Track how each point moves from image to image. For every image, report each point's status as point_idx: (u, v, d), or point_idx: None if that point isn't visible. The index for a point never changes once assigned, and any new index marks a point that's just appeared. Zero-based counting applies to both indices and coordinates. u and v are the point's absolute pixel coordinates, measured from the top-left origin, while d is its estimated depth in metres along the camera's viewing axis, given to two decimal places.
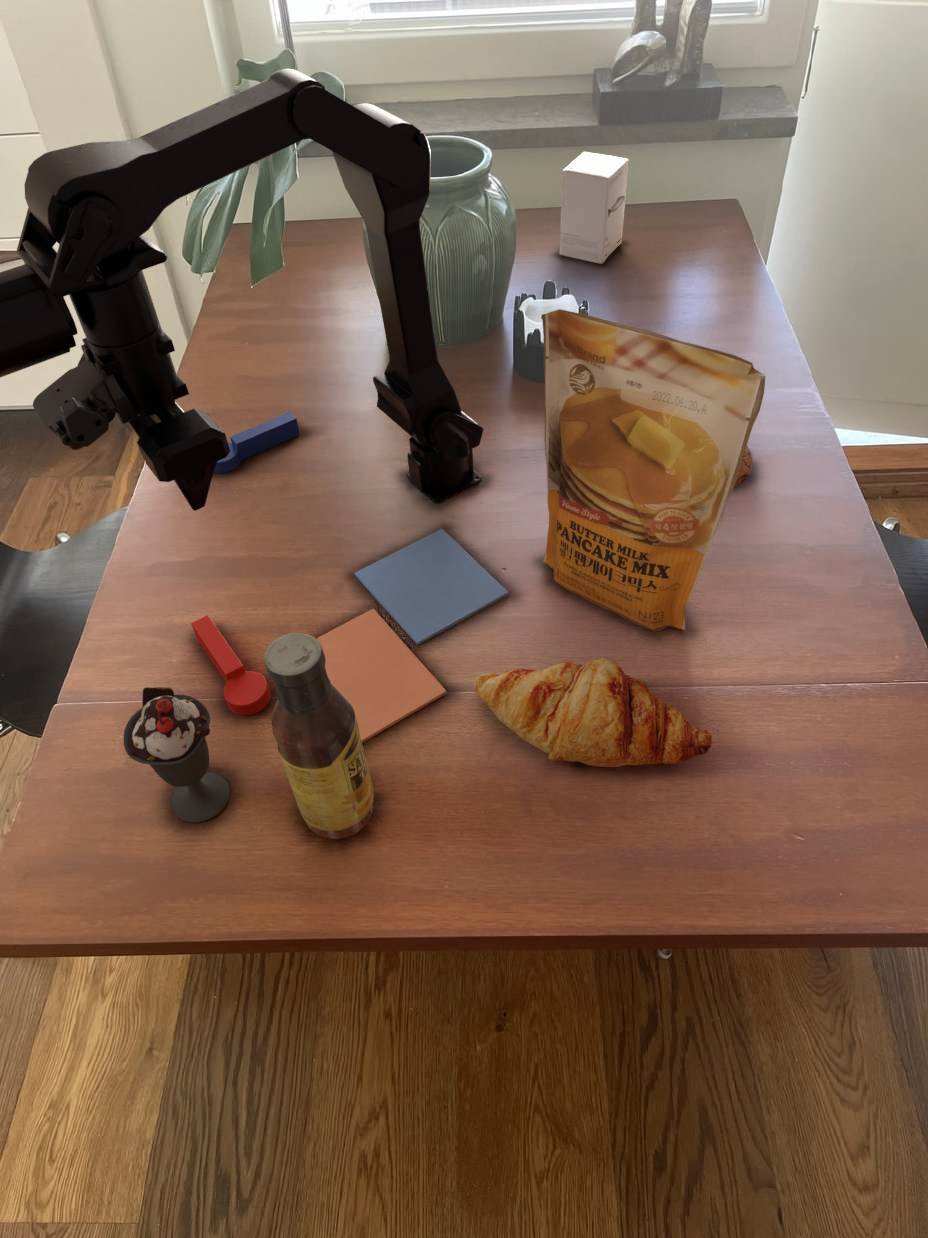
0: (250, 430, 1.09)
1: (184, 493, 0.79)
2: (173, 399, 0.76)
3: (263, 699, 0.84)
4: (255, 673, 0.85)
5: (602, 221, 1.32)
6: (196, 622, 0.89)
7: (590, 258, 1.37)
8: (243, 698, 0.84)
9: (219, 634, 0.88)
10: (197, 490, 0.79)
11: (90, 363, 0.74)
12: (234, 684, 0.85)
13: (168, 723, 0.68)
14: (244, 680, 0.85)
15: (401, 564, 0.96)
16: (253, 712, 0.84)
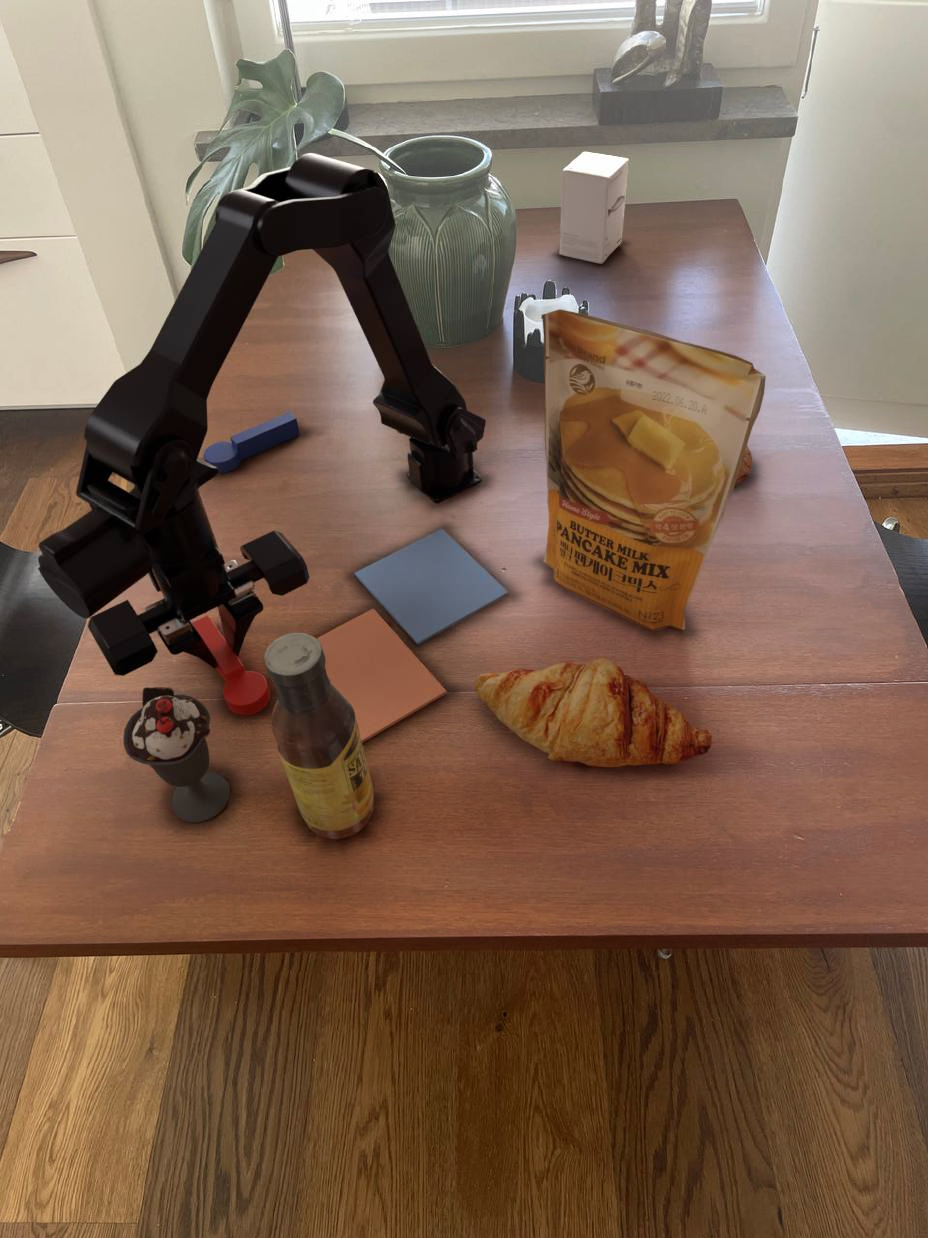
0: (250, 430, 1.09)
1: None
2: (178, 612, 0.79)
3: (263, 699, 0.84)
4: (255, 673, 0.85)
5: (602, 221, 1.32)
6: (196, 622, 0.89)
7: (590, 258, 1.37)
8: (243, 698, 0.84)
9: (219, 634, 0.88)
10: None
11: None
12: (234, 684, 0.85)
13: (168, 723, 0.68)
14: (244, 680, 0.85)
15: (401, 564, 0.96)
16: (253, 712, 0.84)
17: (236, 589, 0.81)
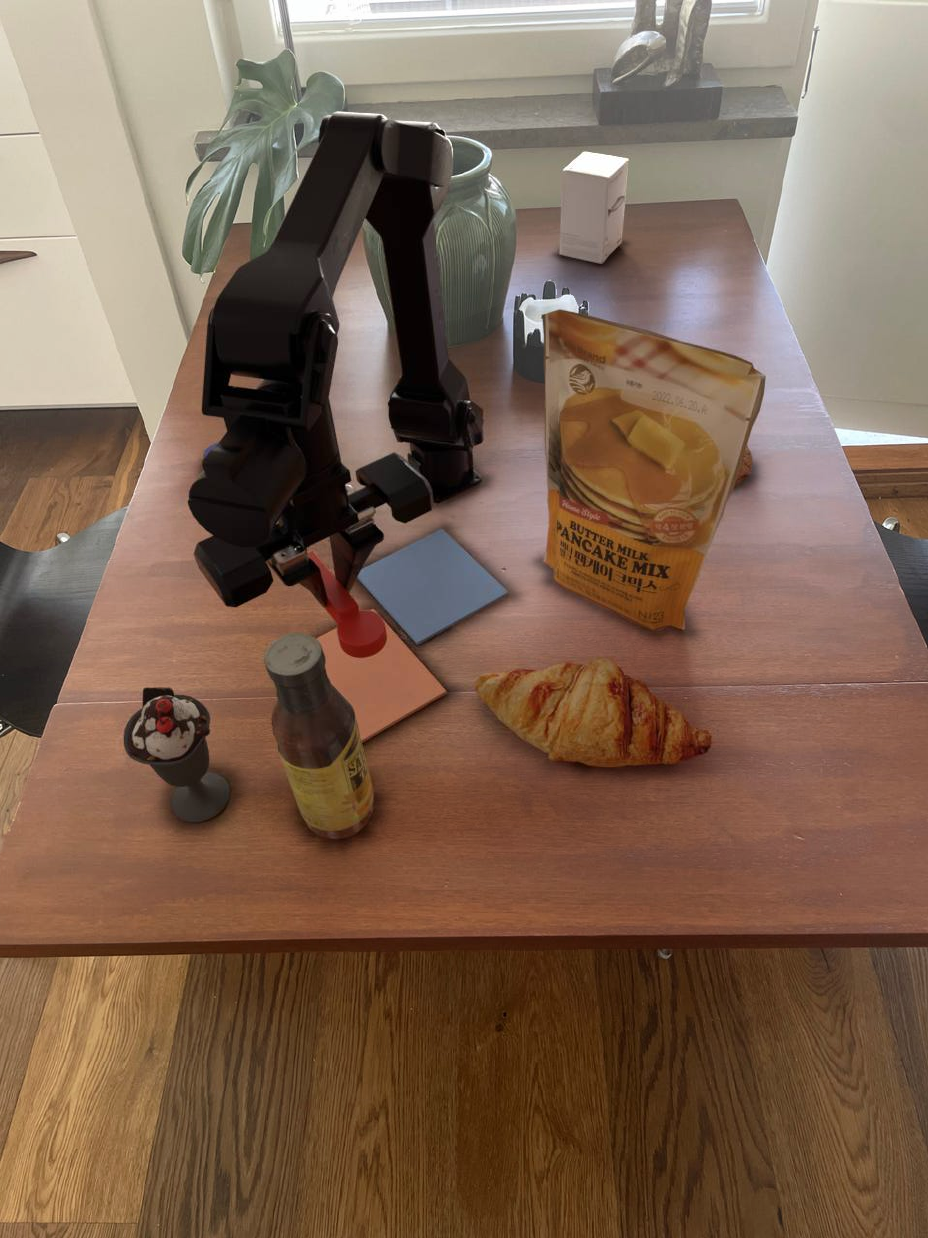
0: None
1: None
2: (295, 538, 0.70)
3: (381, 640, 0.76)
4: (370, 612, 0.77)
5: (602, 221, 1.32)
6: None
7: (590, 258, 1.37)
8: (360, 639, 0.75)
9: (327, 570, 0.79)
10: None
11: None
12: (348, 623, 0.76)
13: (168, 723, 0.68)
14: (359, 619, 0.77)
15: (401, 564, 0.96)
16: (370, 654, 0.76)
17: None
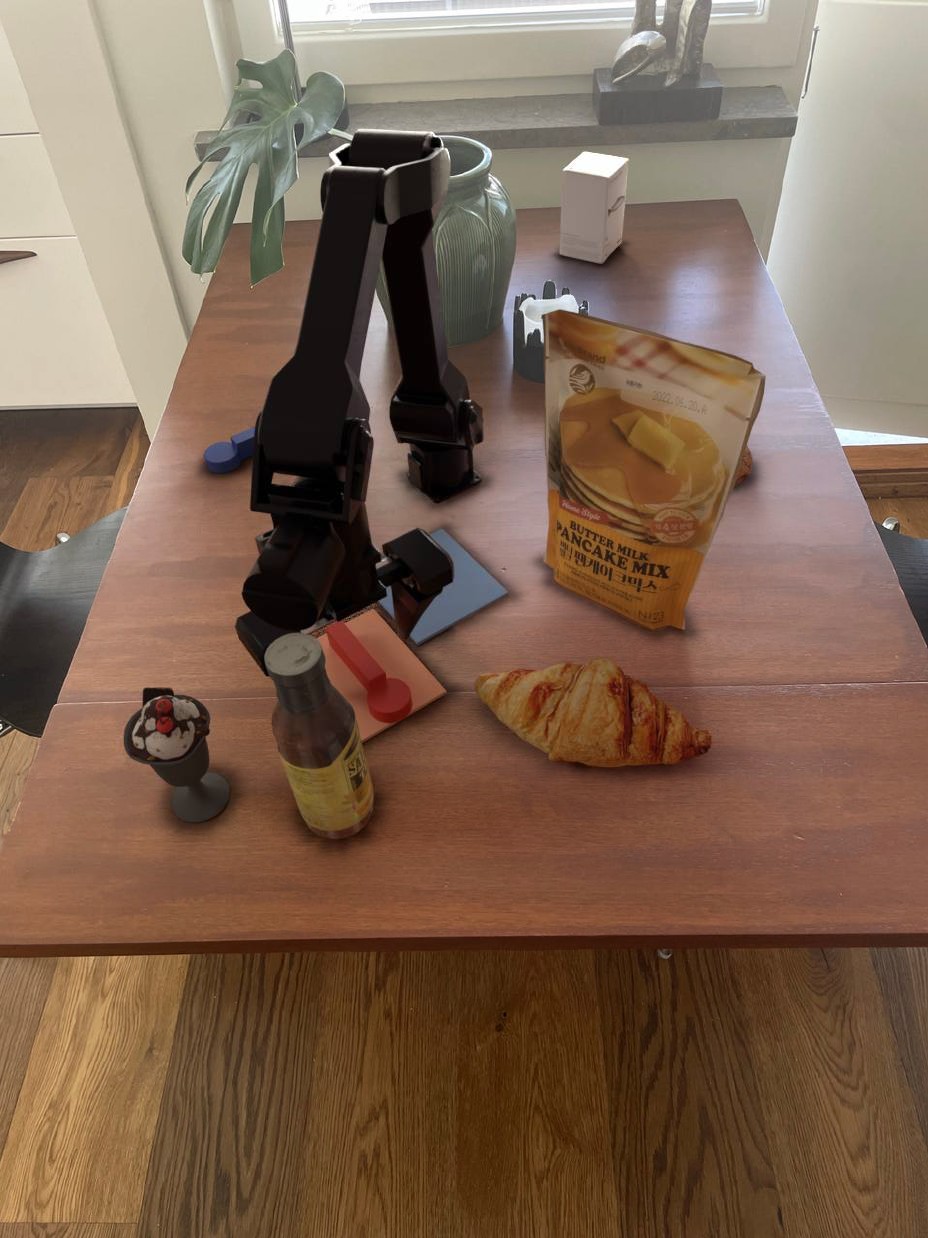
0: (250, 430, 1.09)
1: None
2: (329, 612, 0.76)
3: (408, 706, 0.82)
4: (397, 680, 0.84)
5: (602, 221, 1.32)
6: (331, 627, 0.87)
7: (590, 258, 1.37)
8: (388, 706, 0.82)
9: (356, 640, 0.86)
10: None
11: None
12: (377, 691, 0.83)
13: (168, 723, 0.68)
14: (387, 686, 0.83)
15: None
16: (397, 720, 0.82)
17: None
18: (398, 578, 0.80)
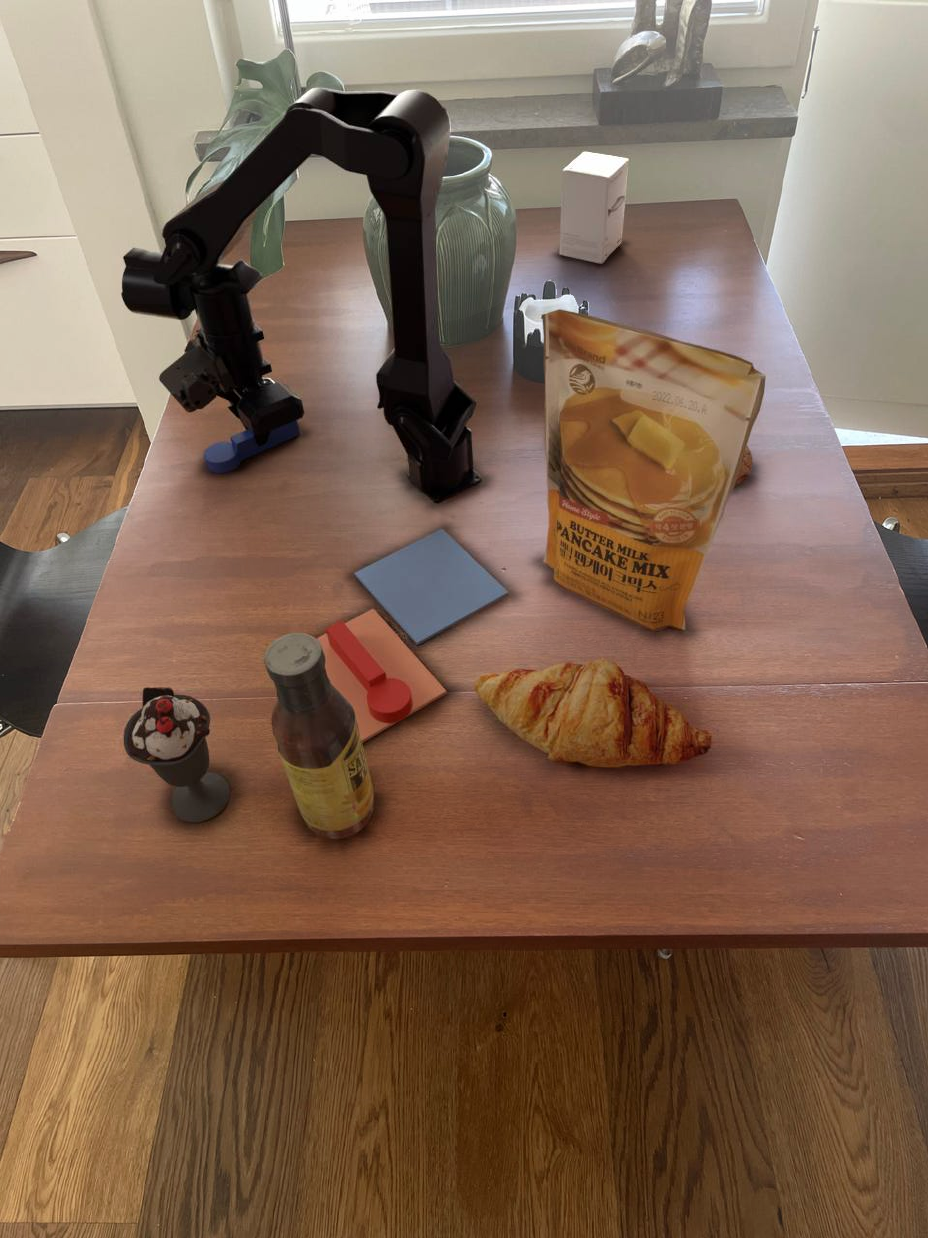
0: None
1: None
2: (261, 375, 1.02)
3: (408, 706, 0.82)
4: (397, 680, 0.84)
5: (602, 221, 1.32)
6: (331, 627, 0.87)
7: (590, 258, 1.37)
8: (388, 706, 0.82)
9: (356, 640, 0.86)
10: None
11: (201, 348, 1.00)
12: (377, 691, 0.83)
13: (168, 723, 0.68)
14: (387, 686, 0.83)
15: (401, 564, 0.96)
16: (397, 720, 0.82)
17: None
18: None
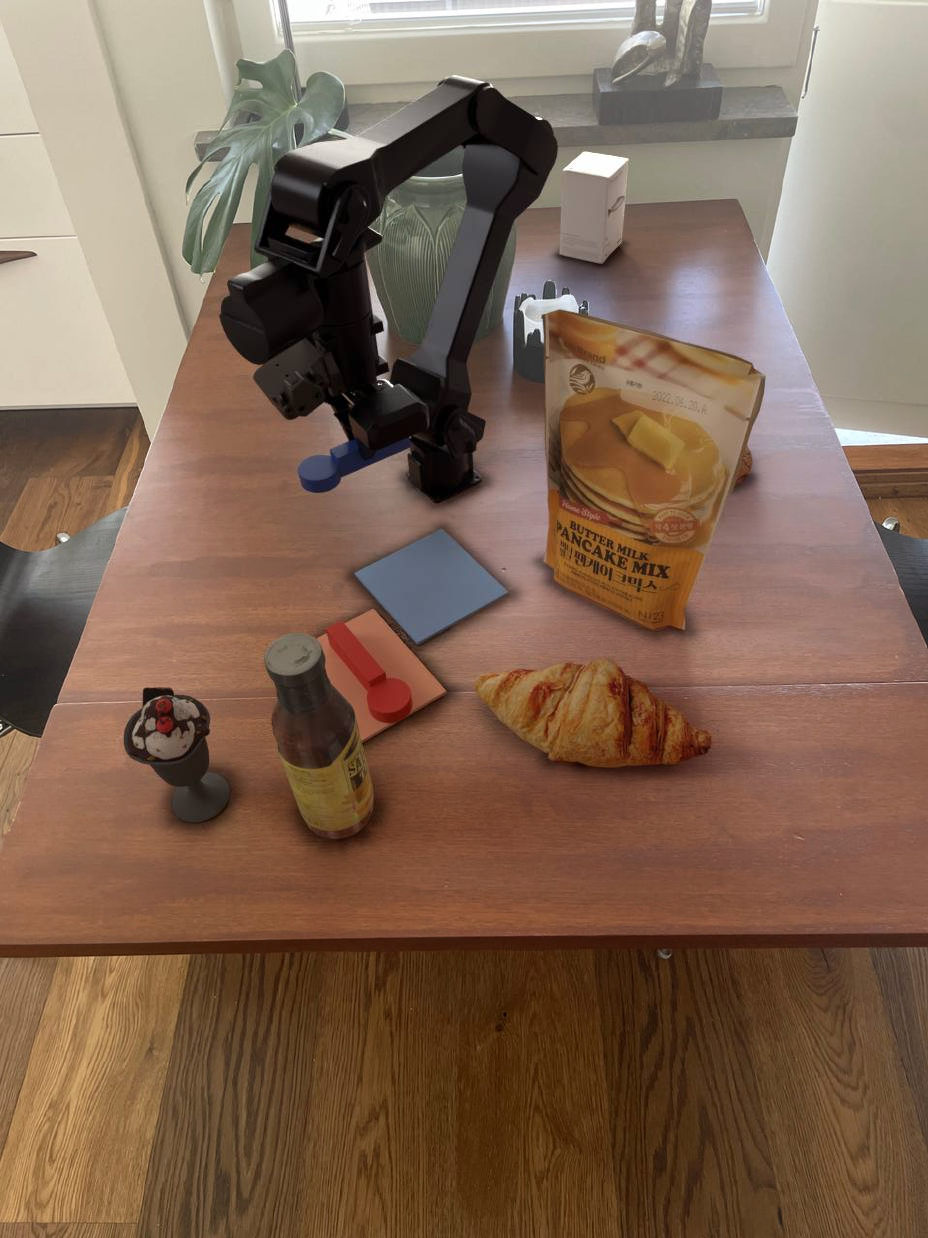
0: (353, 441, 0.90)
1: (360, 443, 0.88)
2: (376, 375, 0.83)
3: (408, 706, 0.82)
4: (397, 680, 0.84)
5: (602, 221, 1.32)
6: (331, 627, 0.87)
7: (590, 258, 1.37)
8: (388, 706, 0.82)
9: (356, 640, 0.86)
10: None
11: (306, 341, 0.81)
12: (377, 691, 0.83)
13: (168, 723, 0.68)
14: (387, 686, 0.83)
15: (401, 564, 0.96)
16: (397, 720, 0.82)
17: None
18: None
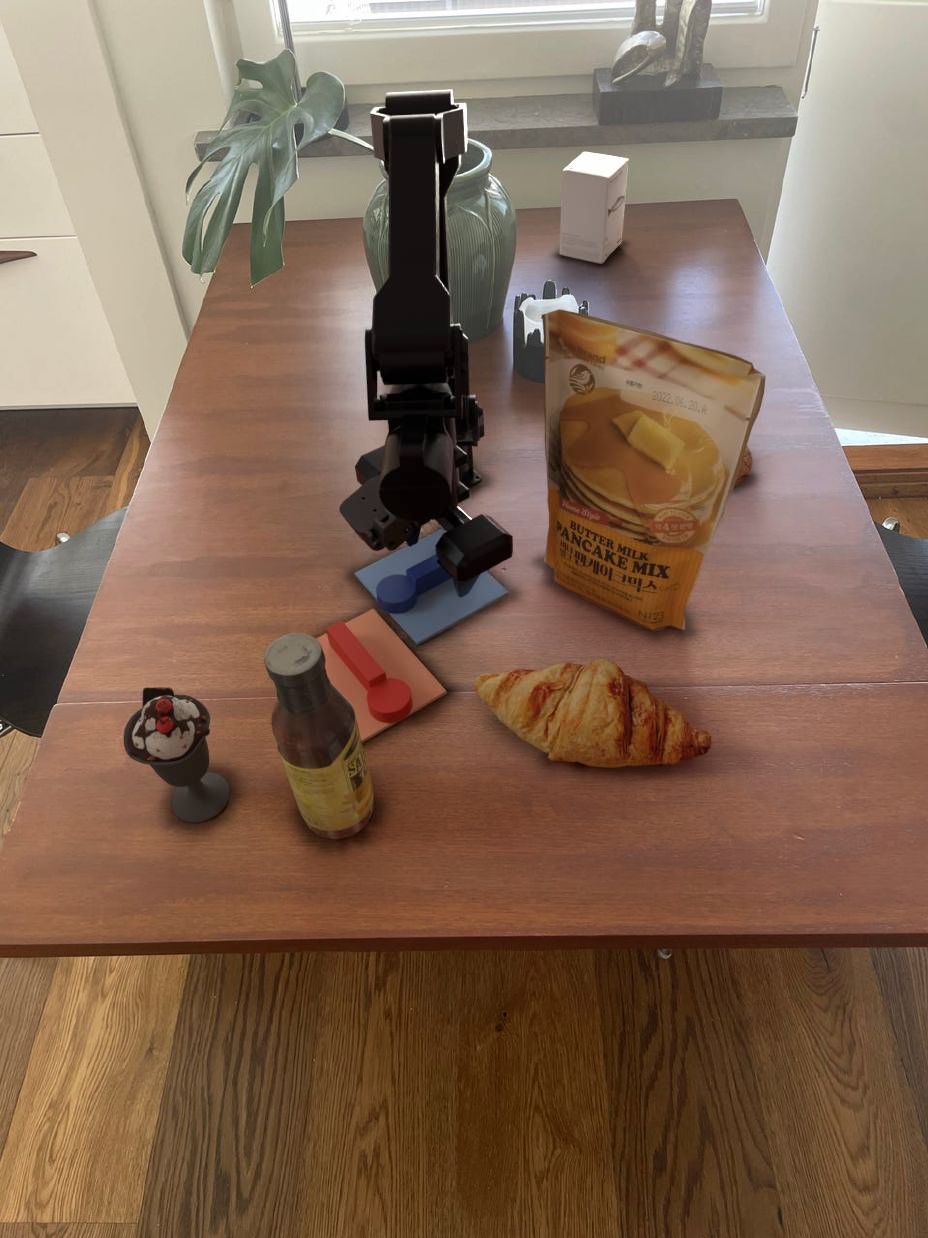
0: (428, 561, 0.92)
1: (459, 585, 0.88)
2: (457, 503, 0.85)
3: (408, 706, 0.82)
4: (397, 680, 0.84)
5: (602, 221, 1.32)
6: (331, 627, 0.87)
7: (590, 258, 1.37)
8: (388, 706, 0.82)
9: (356, 640, 0.86)
10: (469, 581, 0.88)
11: None
12: (377, 691, 0.83)
13: (168, 723, 0.68)
14: (387, 686, 0.83)
15: (401, 564, 0.96)
16: (397, 720, 0.82)
17: None
18: None
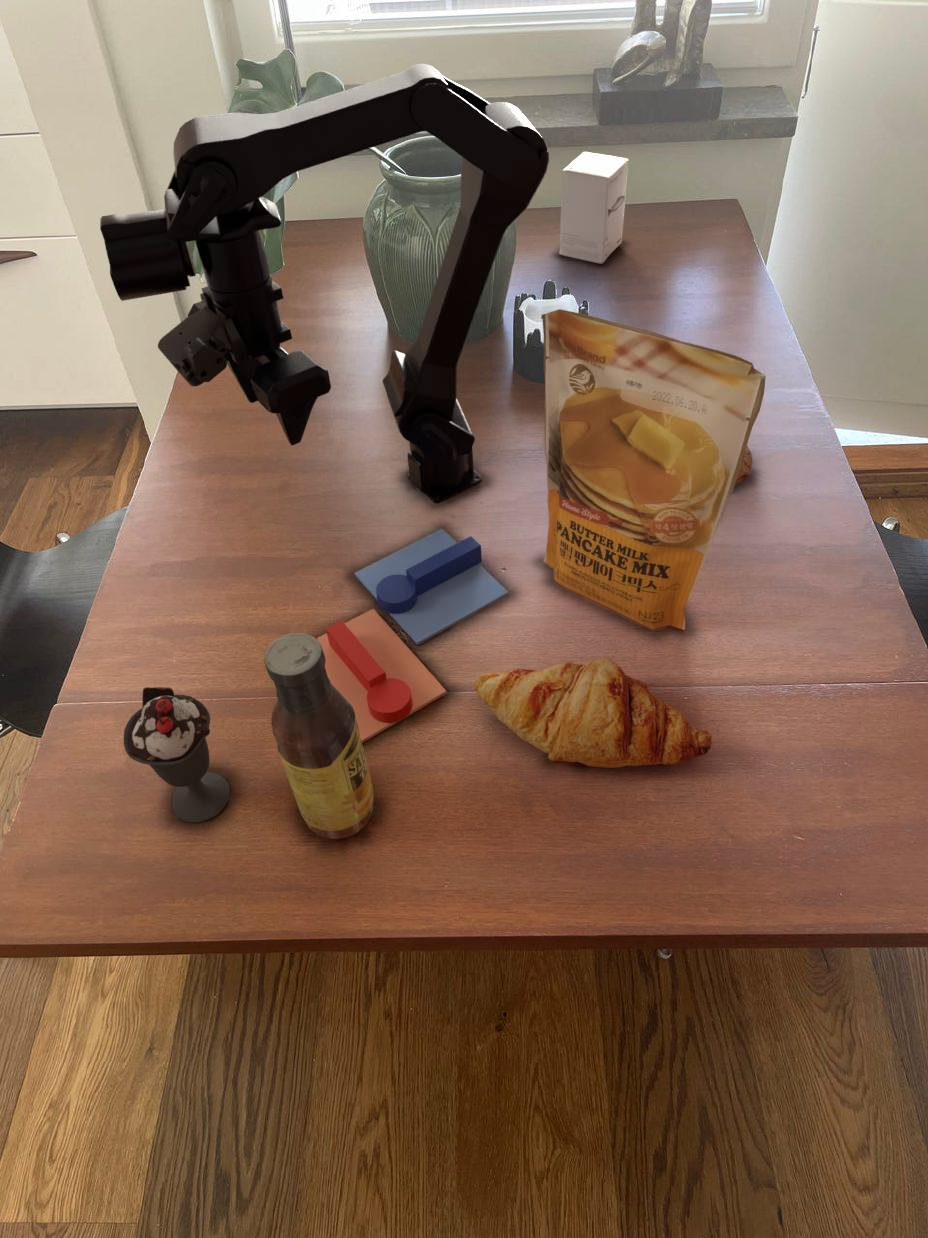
0: (428, 561, 0.92)
1: (286, 428, 0.88)
2: (279, 343, 0.86)
3: (408, 706, 0.82)
4: (397, 680, 0.84)
5: (602, 221, 1.32)
6: (331, 627, 0.87)
7: (590, 258, 1.37)
8: (388, 706, 0.82)
9: (356, 640, 0.86)
10: (296, 425, 0.89)
11: (208, 310, 0.84)
12: (377, 691, 0.83)
13: (168, 723, 0.68)
14: (387, 686, 0.83)
15: (401, 564, 0.96)
16: (397, 720, 0.82)
17: None
18: None
